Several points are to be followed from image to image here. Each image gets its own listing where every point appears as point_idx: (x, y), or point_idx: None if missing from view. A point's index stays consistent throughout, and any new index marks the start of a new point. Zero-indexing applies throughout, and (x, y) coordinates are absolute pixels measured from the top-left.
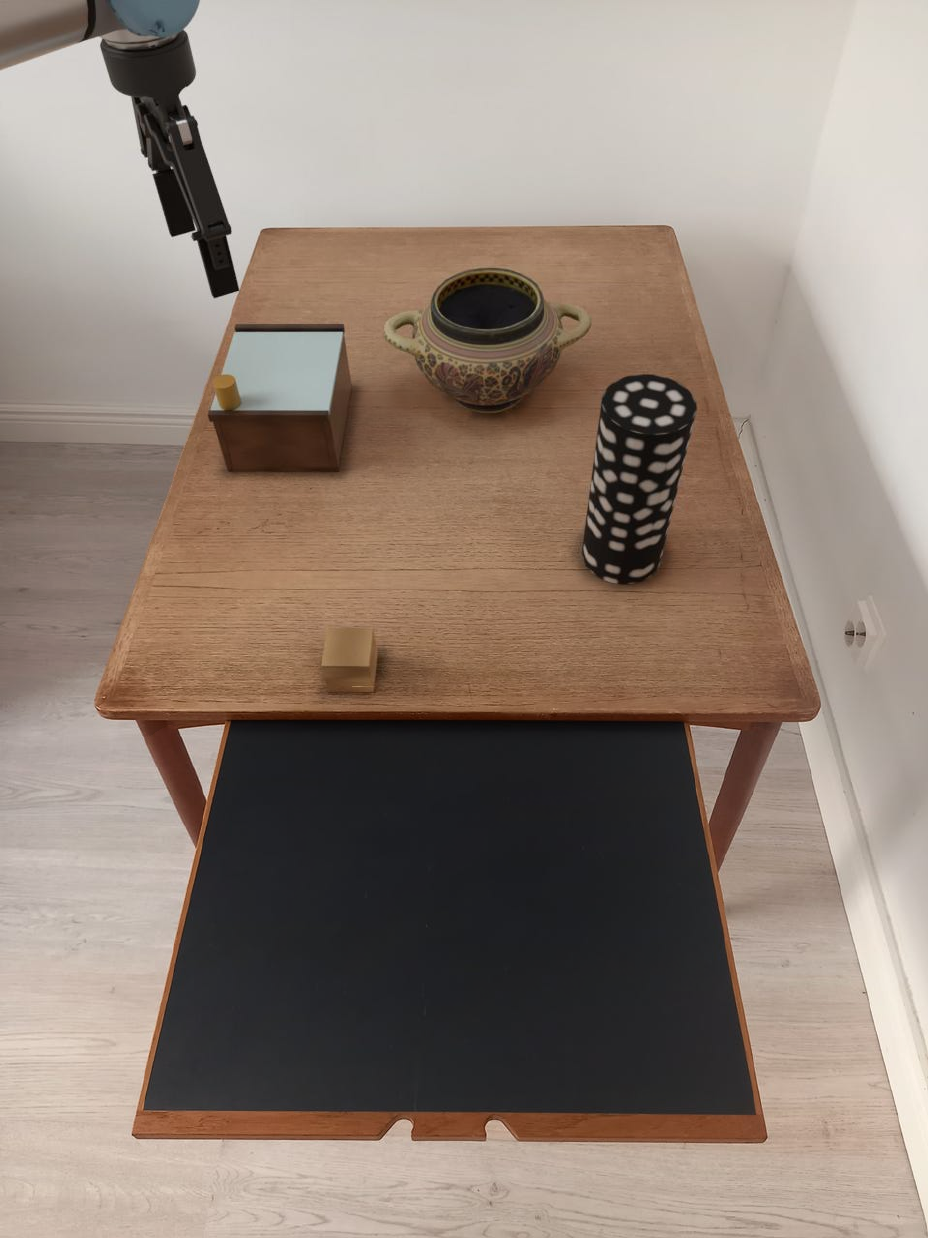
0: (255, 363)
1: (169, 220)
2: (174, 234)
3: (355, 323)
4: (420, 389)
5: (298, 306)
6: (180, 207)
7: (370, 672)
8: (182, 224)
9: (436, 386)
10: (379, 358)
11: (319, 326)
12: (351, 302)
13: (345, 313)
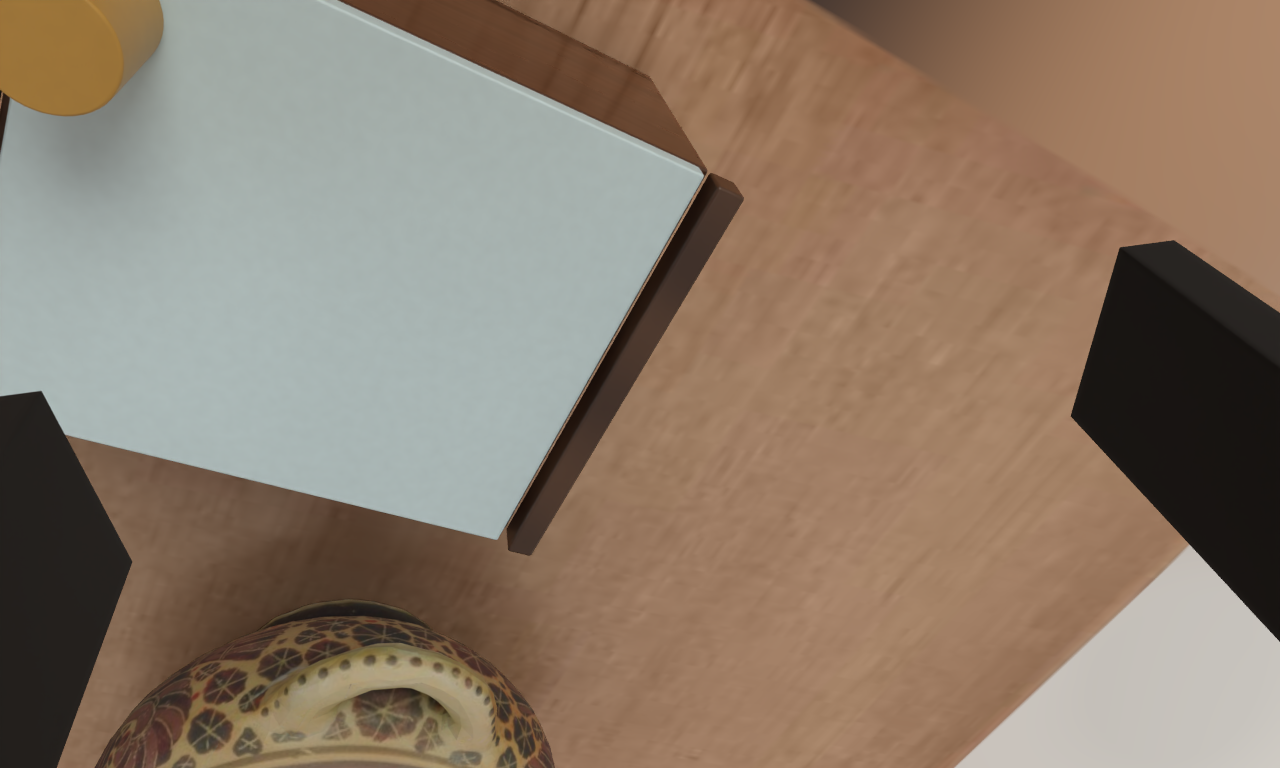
0: (416, 207)
1: (1210, 337)
2: (1122, 277)
3: (799, 460)
4: (416, 539)
5: (983, 340)
6: (1227, 498)
7: None
8: (1134, 387)
9: (225, 649)
10: (606, 480)
11: (552, 486)
12: (898, 472)
13: (861, 448)
